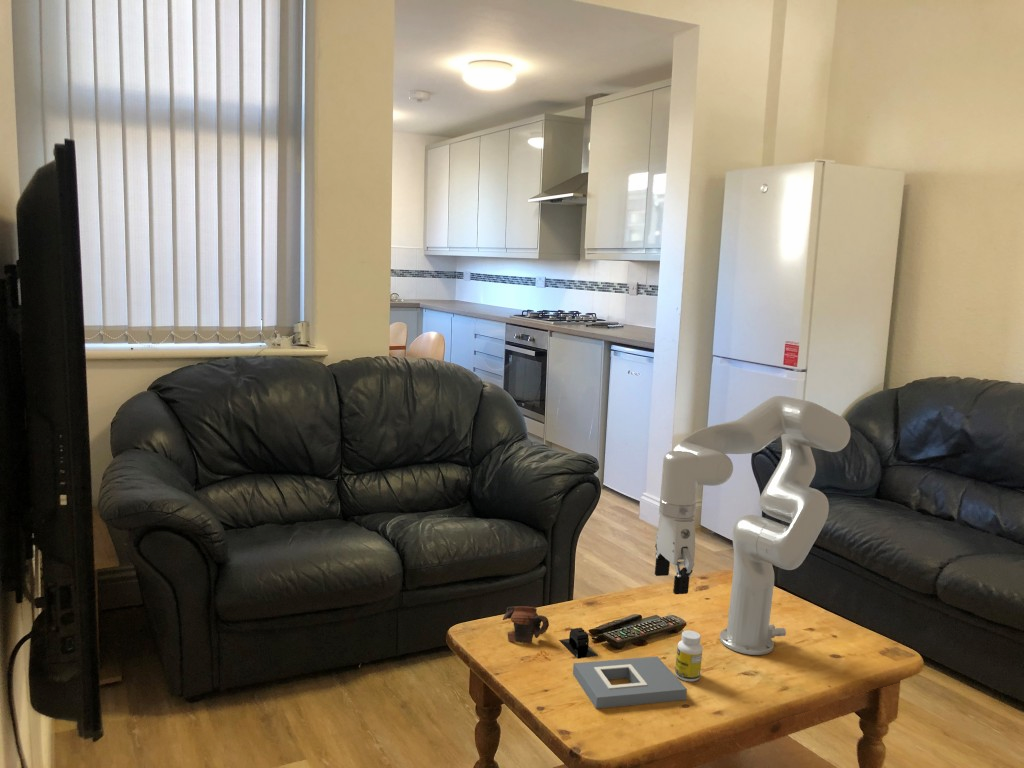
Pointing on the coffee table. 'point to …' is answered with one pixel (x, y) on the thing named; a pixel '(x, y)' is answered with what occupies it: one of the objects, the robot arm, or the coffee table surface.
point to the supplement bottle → (689, 656)
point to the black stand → (578, 644)
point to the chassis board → (643, 673)
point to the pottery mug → (525, 624)
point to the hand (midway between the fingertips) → (670, 584)
